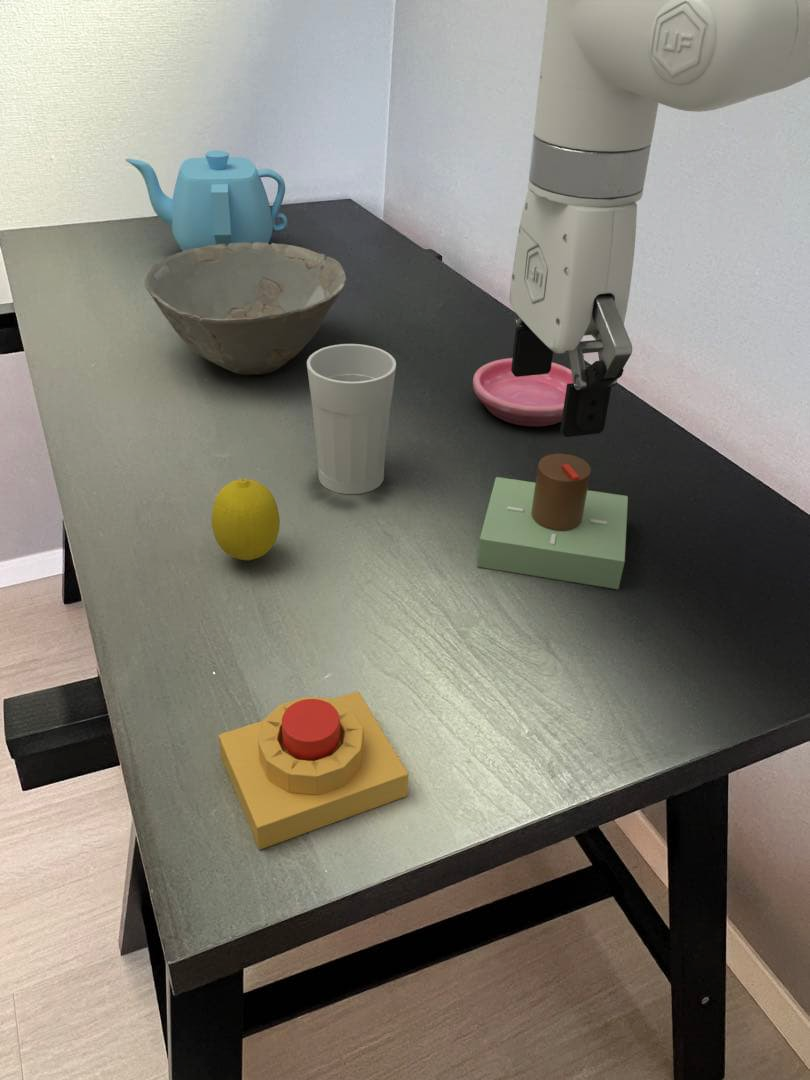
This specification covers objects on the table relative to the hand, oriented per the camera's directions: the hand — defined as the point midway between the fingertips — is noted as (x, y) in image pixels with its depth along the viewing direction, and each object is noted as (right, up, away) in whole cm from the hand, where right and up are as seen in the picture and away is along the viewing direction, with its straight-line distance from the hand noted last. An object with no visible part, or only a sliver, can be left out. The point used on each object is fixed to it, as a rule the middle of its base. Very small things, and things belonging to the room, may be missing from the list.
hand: (554, 402), depth 72 cm
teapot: (-39, +31, +67) cm, 84 cm away
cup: (-17, -4, +20) cm, 26 cm away
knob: (+2, -8, +10) cm, 13 cm away
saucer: (+2, +4, +33) cm, 33 cm away
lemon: (-25, -12, +9) cm, 29 cm away
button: (-17, -23, -12) cm, 31 cm away
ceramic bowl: (-29, +11, +40) cm, 51 cm away
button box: (-17, -26, -10) cm, 33 cm away
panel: (+2, -11, +12) cm, 16 cm away
